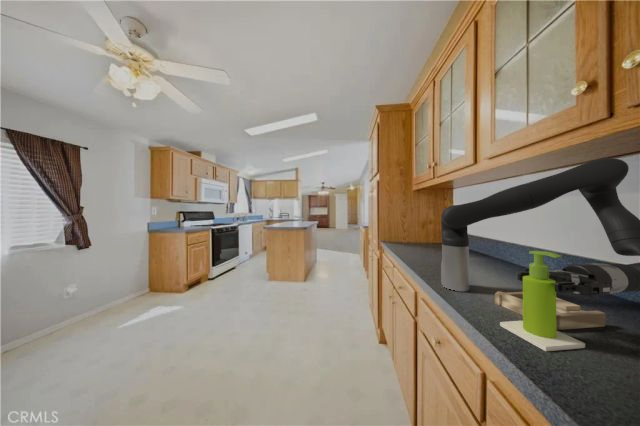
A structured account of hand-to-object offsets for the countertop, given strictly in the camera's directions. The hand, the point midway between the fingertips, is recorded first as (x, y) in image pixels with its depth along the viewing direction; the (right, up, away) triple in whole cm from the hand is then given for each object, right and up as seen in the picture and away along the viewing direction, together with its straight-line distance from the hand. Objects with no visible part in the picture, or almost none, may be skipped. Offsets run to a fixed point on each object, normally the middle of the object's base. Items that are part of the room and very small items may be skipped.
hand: (536, 281), depth 54 cm
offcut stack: (+18, -13, +12) cm, 25 cm away
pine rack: (+14, -13, +12) cm, 22 cm away
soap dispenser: (+1, -13, 0) cm, 13 cm away
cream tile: (+1, -13, 0) cm, 14 cm away
